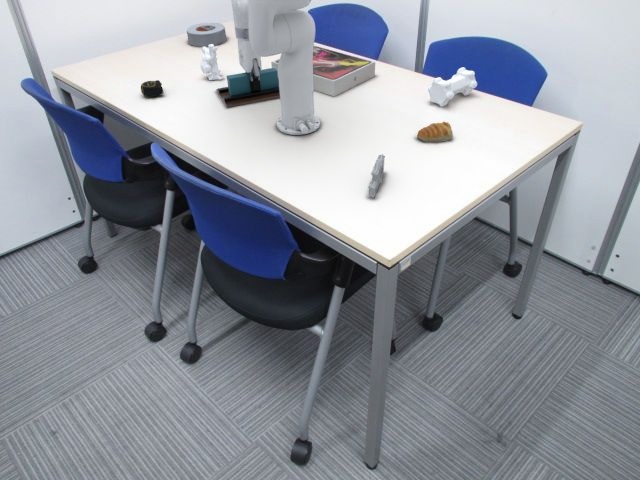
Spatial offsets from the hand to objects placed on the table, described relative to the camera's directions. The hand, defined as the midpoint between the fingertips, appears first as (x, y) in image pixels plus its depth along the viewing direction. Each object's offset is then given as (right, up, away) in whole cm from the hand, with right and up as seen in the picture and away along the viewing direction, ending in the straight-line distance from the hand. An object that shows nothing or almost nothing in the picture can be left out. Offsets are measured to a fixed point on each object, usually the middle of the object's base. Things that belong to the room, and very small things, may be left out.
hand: (253, 88), depth 173 cm
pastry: (+54, -21, -26) cm, 63 cm away
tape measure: (-33, -1, +3) cm, 33 cm away
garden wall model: (+35, -36, -44) cm, 67 cm away
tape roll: (-24, +32, +45) cm, 60 cm away
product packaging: (+23, +7, +11) cm, 26 cm away
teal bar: (0, -1, +1) cm, 1 cm away
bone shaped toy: (+63, -5, -6) cm, 63 cm away
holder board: (0, -1, +1) cm, 2 cm away
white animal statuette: (-15, +7, +13) cm, 21 cm away
